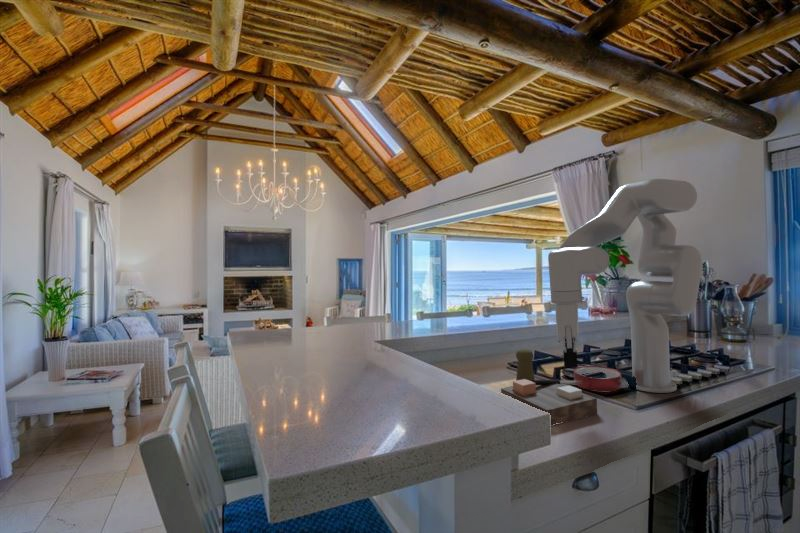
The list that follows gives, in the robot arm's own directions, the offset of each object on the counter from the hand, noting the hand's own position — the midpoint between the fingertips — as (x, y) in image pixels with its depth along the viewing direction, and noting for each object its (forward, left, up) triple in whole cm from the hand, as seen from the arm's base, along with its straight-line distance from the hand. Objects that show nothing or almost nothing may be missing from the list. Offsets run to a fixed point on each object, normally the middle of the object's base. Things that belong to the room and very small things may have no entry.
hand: (570, 366), depth 103 cm
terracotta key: (+9, -8, -8) cm, 14 cm away
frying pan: (-11, -9, -12) cm, 19 cm away
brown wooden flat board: (+5, -4, -12) cm, 13 cm away
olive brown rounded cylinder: (-3, -22, -12) cm, 25 cm away
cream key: (+1, 0, -9) cm, 9 cm away
